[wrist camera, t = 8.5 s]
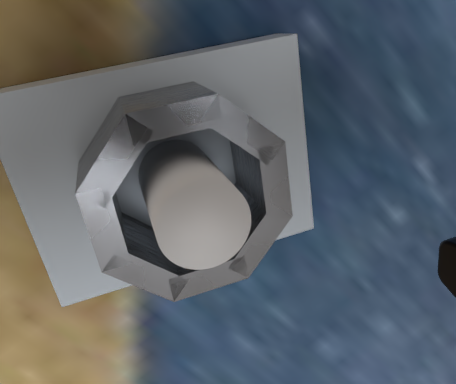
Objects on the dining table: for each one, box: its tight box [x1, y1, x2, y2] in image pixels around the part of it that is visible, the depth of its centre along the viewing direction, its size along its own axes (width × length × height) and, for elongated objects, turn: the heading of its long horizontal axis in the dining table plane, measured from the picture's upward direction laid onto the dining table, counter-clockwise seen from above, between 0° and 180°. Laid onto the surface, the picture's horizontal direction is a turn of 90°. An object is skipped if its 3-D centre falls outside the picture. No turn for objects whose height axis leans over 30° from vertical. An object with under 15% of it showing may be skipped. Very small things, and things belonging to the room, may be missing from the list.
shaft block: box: [0, 34, 314, 307], centre depth 16 cm, size 12×9×7 cm
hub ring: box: [75, 81, 293, 302], centre depth 15 cm, size 7×7×4 cm
